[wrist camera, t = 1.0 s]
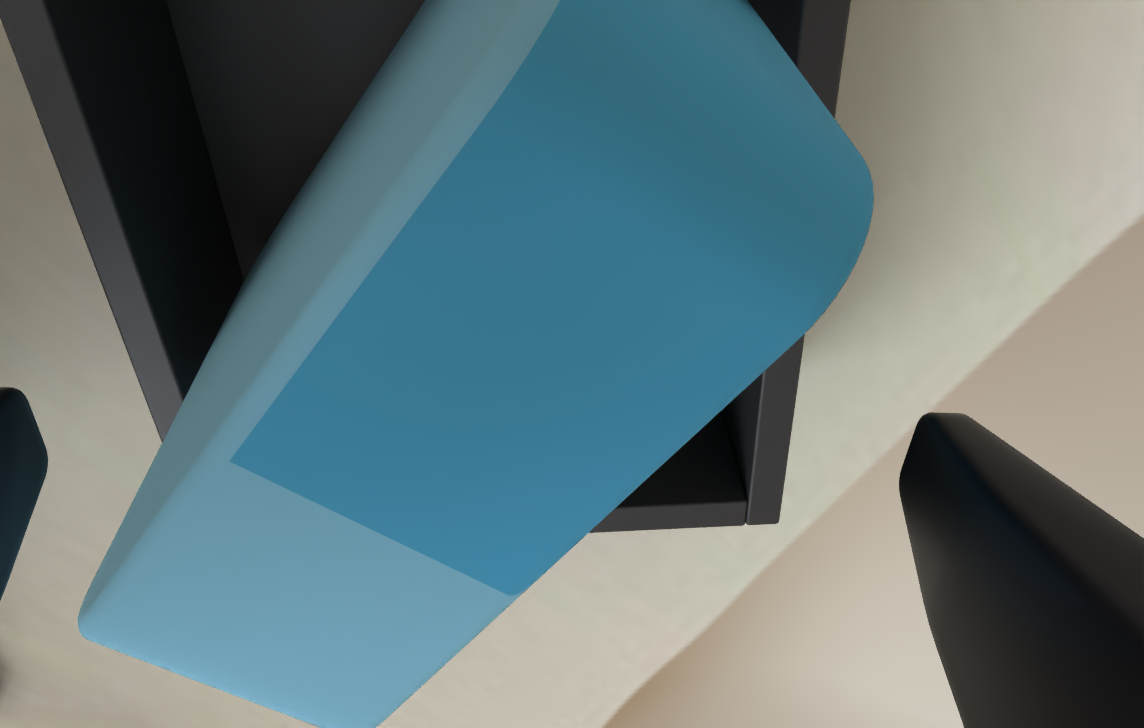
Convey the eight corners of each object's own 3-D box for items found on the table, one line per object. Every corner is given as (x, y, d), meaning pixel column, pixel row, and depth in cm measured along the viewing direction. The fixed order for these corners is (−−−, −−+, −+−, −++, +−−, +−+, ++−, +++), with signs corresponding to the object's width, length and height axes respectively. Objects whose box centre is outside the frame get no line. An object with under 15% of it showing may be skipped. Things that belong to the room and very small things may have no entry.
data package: (411, 349, 24) (329, 780, 14) (254, 258, 23) (41, 678, 13) (724, -36, 19) (927, 236, 9) (550, -192, 17) (572, -62, 8)
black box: (255, 419, 26) (202, 552, 22) (34, -322, 16) (-136, -333, 12) (740, 396, 26) (779, 524, 22) (811, -353, 16) (904, -374, 12)
